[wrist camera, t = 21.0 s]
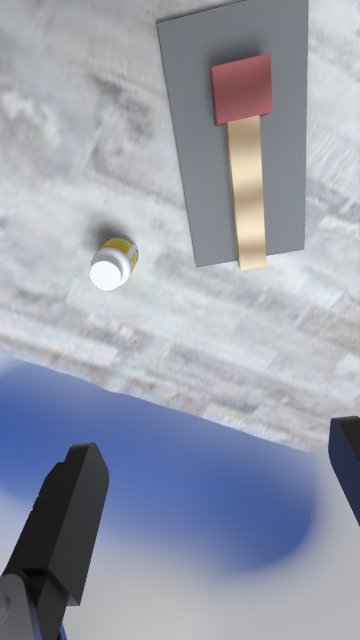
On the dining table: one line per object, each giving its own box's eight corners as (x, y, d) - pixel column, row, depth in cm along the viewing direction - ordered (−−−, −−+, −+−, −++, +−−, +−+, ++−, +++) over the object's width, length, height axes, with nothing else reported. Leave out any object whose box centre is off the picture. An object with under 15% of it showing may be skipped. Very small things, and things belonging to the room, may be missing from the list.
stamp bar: (269, 258, 45) (276, 267, 41) (229, 265, 45) (233, 274, 42) (262, 63, 34) (270, 52, 30) (209, 76, 34) (211, 67, 31)
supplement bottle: (96, 244, 45) (75, 265, 37) (127, 229, 44) (112, 247, 36) (115, 275, 48) (99, 301, 39) (145, 261, 46) (134, 285, 38)
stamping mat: (302, 247, 45) (304, 249, 44) (196, 265, 46) (196, 267, 46) (305, -12, 31) (308, -17, 31) (157, 26, 33) (156, 23, 32)
